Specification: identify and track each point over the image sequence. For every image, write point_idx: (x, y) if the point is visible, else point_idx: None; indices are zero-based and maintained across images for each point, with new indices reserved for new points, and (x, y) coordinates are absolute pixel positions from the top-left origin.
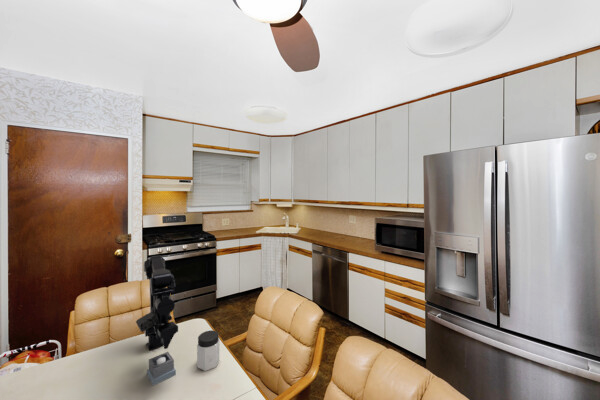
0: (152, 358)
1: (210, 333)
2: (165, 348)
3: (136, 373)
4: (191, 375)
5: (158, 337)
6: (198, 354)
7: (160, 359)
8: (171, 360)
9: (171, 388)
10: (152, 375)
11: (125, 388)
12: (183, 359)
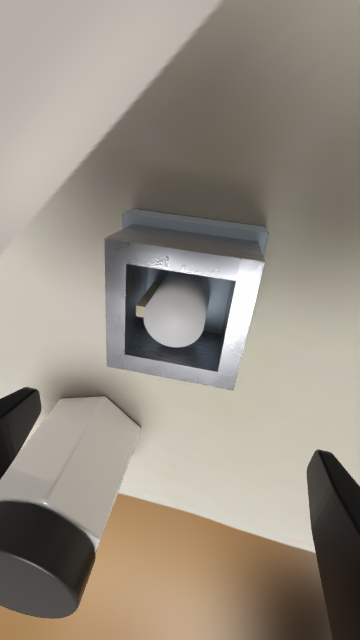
0: (250, 288)
1: (30, 600)
2: (23, 396)
3: (347, 182)
4: (74, 357)
5: (316, 470)
6: (63, 450)
7: (179, 318)
8: (108, 354)
9: (48, 264)
10: (160, 229)
11: (252, 60)
12: (215, 397)
